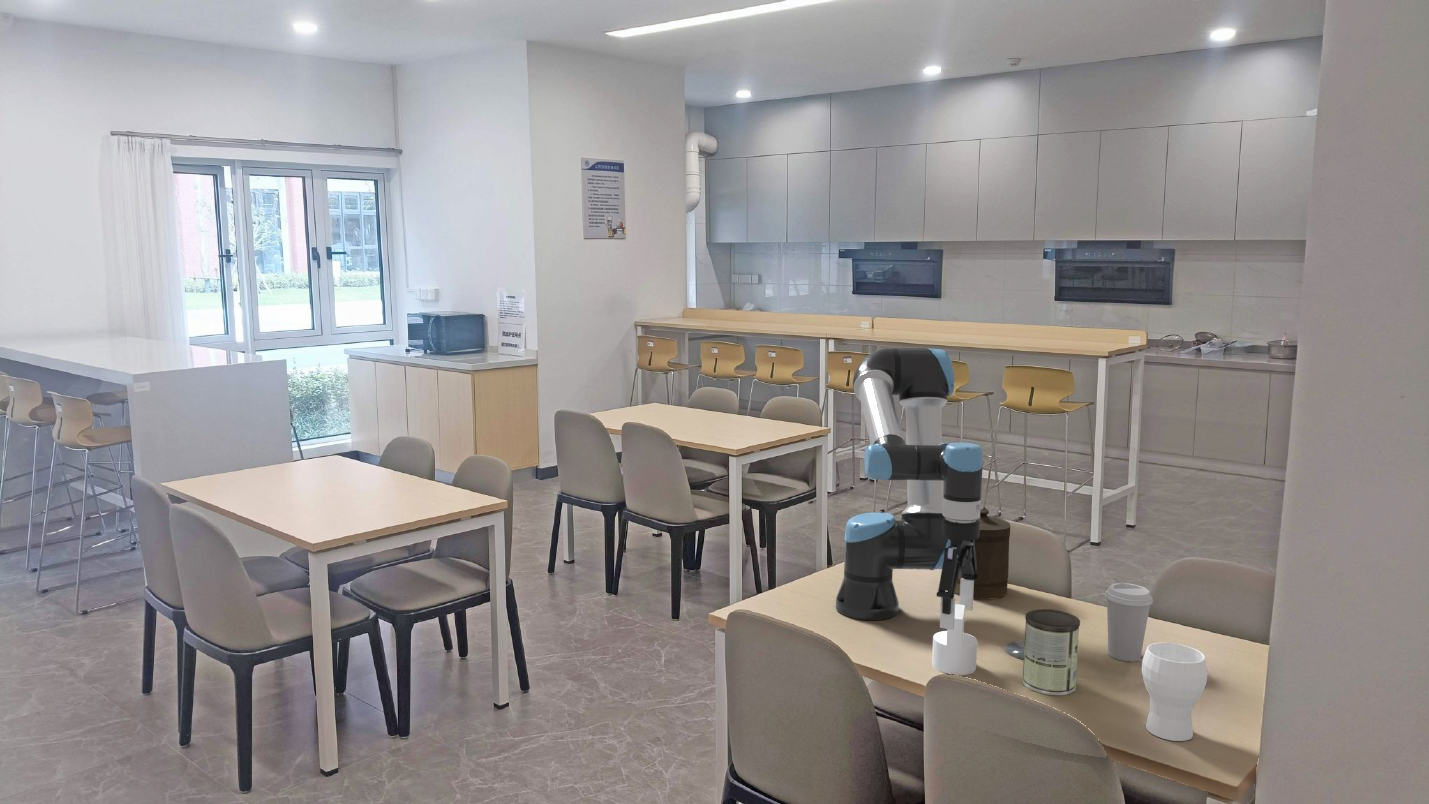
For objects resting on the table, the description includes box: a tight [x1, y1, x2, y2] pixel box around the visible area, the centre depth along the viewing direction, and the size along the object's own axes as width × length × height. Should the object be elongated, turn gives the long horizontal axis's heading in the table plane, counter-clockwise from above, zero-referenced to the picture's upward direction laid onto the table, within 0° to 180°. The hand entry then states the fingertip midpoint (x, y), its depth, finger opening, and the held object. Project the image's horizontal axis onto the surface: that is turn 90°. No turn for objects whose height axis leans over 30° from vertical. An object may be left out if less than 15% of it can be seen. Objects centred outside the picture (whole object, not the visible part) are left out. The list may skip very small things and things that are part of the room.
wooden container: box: [955, 506, 1011, 600], centre depth 251 cm, size 15×15×22 cm
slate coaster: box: [1005, 640, 1025, 661], centre depth 212 cm, size 10×10×1 cm
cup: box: [1141, 642, 1208, 742], centre depth 176 cm, size 11×11×15 cm
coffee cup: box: [1104, 582, 1154, 663], centre depth 210 cm, size 10×10×15 cm
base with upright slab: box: [931, 603, 978, 676], centre depth 204 cm, size 9×9×12 cm
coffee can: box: [1021, 608, 1081, 696], centre depth 195 cm, size 10×10×14 cm
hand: (956, 618), depth 203 cm, fingers open, 13 cm apart
